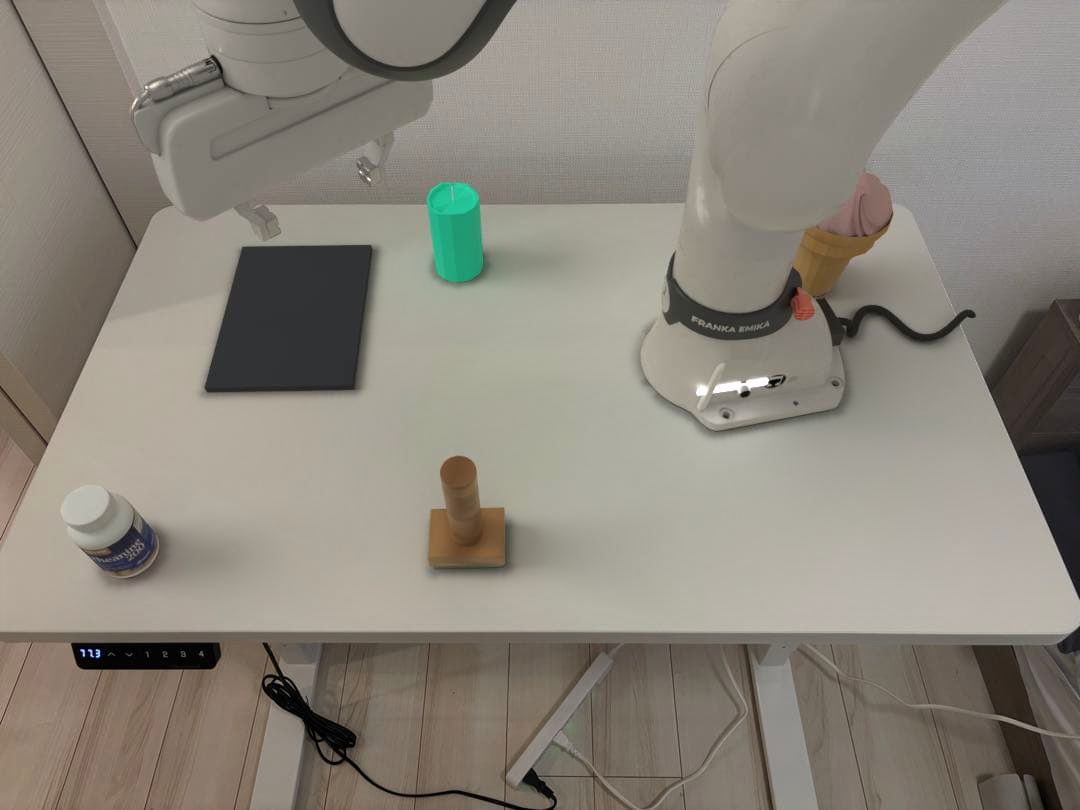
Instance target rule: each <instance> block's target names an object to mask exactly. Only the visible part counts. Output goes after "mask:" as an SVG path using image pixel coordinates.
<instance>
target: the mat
mask: <svg viewBox="0 0 1080 810" xmlns="http://www.w3.org/2000/svg"><path fill="white" fill-rule="evenodd" d="M372 255H373V246H372V244H338V245H337V244H335V245H334V244H332V245H331V244H329V245H326V244H324V245H321V244H320V245H251V246H250V245H247V246H246V245H245V246H242V247H241V250H240V254H239V258H238V262H237V265H236V269H235V272H234V277H233V280H232V282H231V283H232V284H231V288H230V291H229V295H228V299H227V303H226V306H225V309H224V313H223V316H222V321H221V326H220V328H219V331H218V336H217V340H216V344H215V347H214V351H213V355H212V358H211V362H210V366H209V369H208V372H207V377H206V381H205V384H204V390H205V392H207V393H226V392H228V393H229V392H231V393H233V392H283V391H284V392H285V391H287V392H288V391H289V392H291V391H339V390H342V391H344V390H346V391H347V390H355V383H356V376H357V369H358V361H359V355H360V353H359V352H360V345H361V338H362V330H363V323H364V316H365V315H364V314H365V309H366V301H367V293H368V284H369V278H370V271H371V263H372Z"/></svg>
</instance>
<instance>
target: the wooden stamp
mask: <svg viewBox="0 0 1080 810" xmlns="http://www.w3.org/2000/svg"><path fill="white" fill-rule="evenodd" d="M439 477H440V482H441V488H442V494H443V498H444V504H445V508H431V509H430V510H429V511H430V514H429V528H428V529H429V530H428V546H427V547H428V548H427V559H428V563H429V566H430V567H432V568H433V569H474V568H475V569H476V568H479V569H480V568H503V567H504V565H505V564H506V513H505V512H506V511H505V507H481V498H480V489H479V479H478V471H477V466H476V464H475V462H474V461H473V460H472V459H470V458H469V457H467V456H464V455H454V456H451V457H449V458H447V459H446V460H445V461H444V462H443V463H442V464H441V466H440V468H439Z"/></svg>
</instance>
